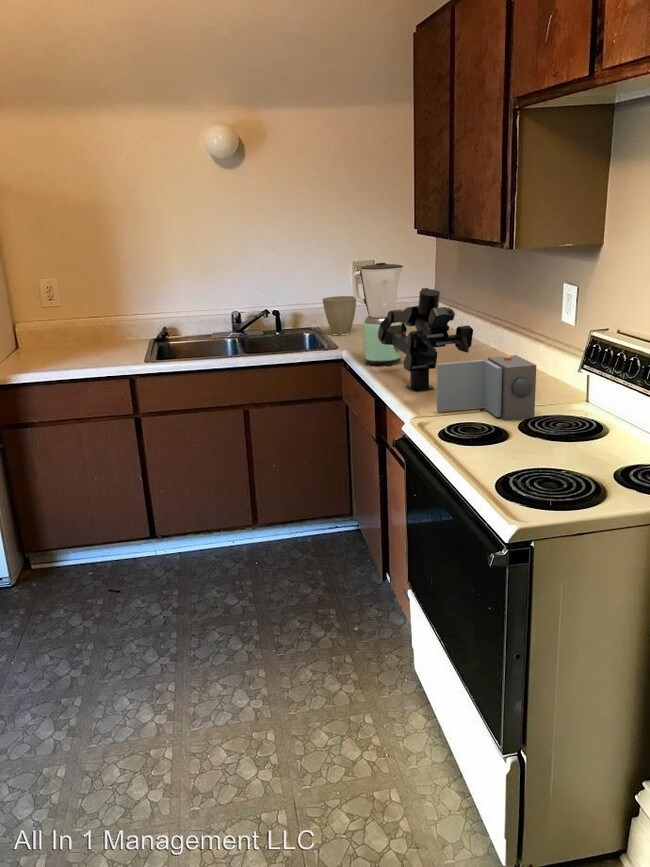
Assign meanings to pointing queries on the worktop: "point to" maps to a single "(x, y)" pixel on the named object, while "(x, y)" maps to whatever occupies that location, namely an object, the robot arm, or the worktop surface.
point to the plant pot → (340, 313)
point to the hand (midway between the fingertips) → (452, 352)
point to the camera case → (516, 387)
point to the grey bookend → (469, 386)
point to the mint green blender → (378, 308)
